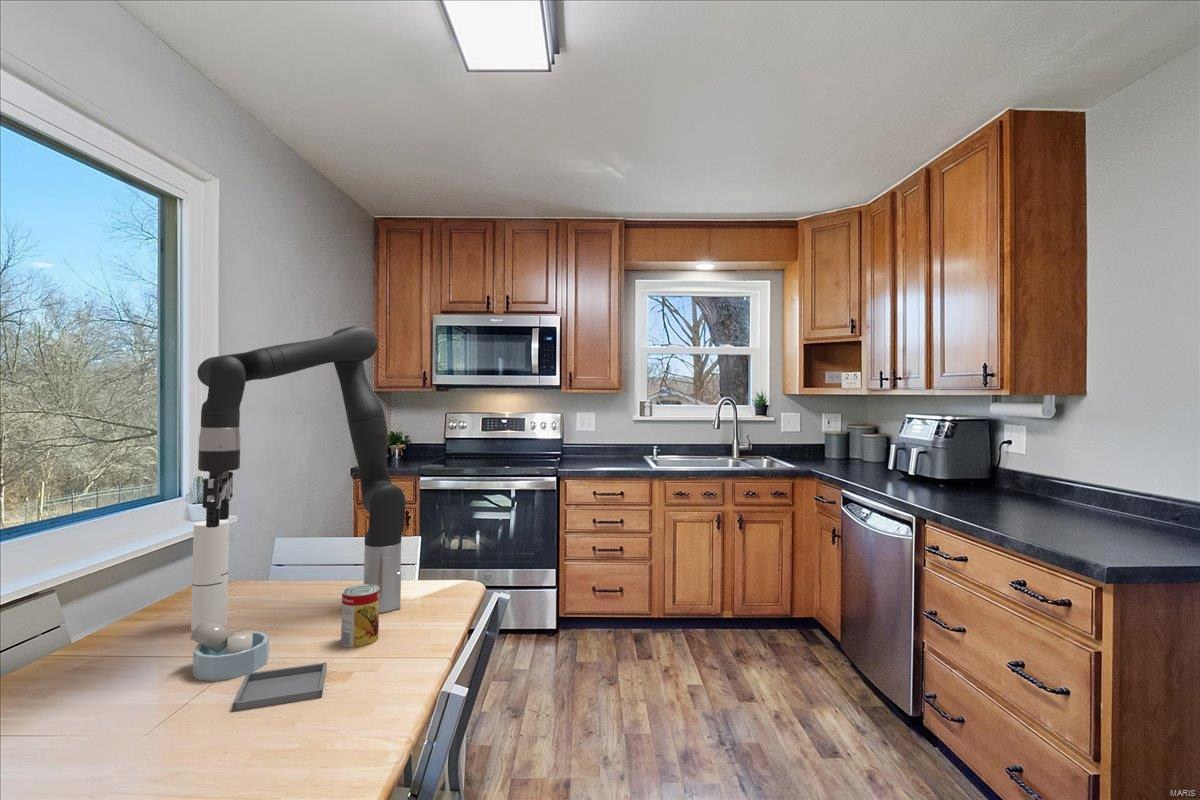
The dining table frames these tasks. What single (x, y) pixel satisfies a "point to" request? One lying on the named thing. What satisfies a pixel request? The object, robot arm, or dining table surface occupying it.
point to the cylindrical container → (210, 573)
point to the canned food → (360, 615)
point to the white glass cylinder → (239, 642)
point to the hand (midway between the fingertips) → (217, 523)
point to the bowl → (230, 660)
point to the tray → (281, 686)
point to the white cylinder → (211, 635)
